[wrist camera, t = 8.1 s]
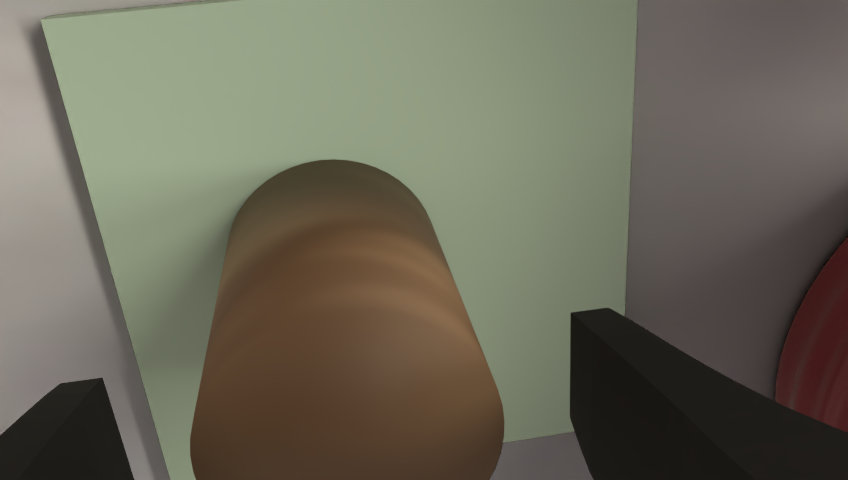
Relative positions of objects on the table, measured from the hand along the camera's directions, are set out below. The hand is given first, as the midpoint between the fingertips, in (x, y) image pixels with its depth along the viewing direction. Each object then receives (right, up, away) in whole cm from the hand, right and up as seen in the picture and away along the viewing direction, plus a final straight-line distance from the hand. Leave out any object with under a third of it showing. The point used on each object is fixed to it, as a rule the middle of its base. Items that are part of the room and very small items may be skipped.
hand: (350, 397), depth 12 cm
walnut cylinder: (-1, +2, +4) cm, 5 cm away
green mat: (0, +2, +5) cm, 5 cm away
